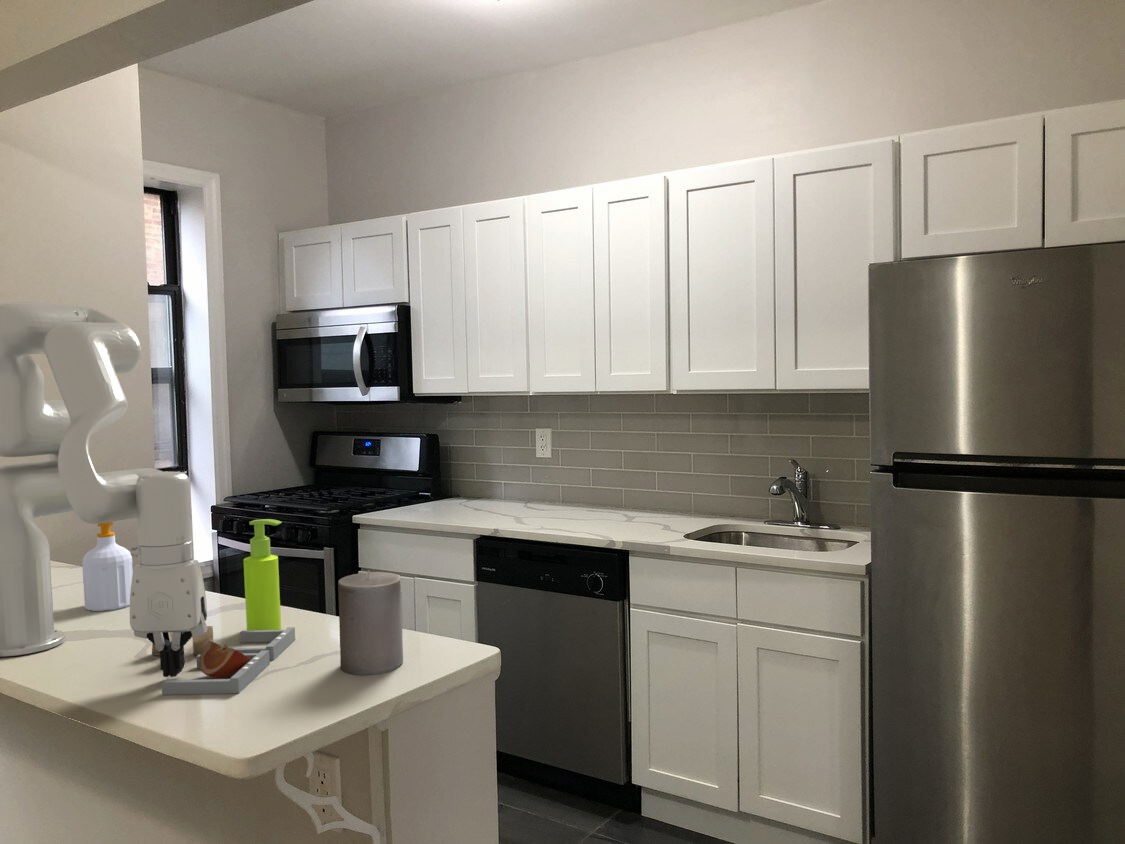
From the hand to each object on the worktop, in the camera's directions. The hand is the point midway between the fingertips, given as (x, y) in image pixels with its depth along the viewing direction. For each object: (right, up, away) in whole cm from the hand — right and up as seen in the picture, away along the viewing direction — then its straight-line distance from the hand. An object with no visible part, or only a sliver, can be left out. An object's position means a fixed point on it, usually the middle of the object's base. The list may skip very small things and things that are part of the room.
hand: (173, 673), depth 138 cm
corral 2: (+8, 0, +14) cm, 16 cm away
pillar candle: (+29, 0, +4) cm, 30 cm away
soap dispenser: (+6, 0, +26) cm, 27 cm away
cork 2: (0, 0, +13) cm, 13 cm away
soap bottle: (-33, +1, +47) cm, 57 cm away
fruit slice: (+8, -1, +1) cm, 8 cm away
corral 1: (+7, -1, 0) cm, 7 cm away
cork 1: (-7, 0, +13) cm, 15 cm away
